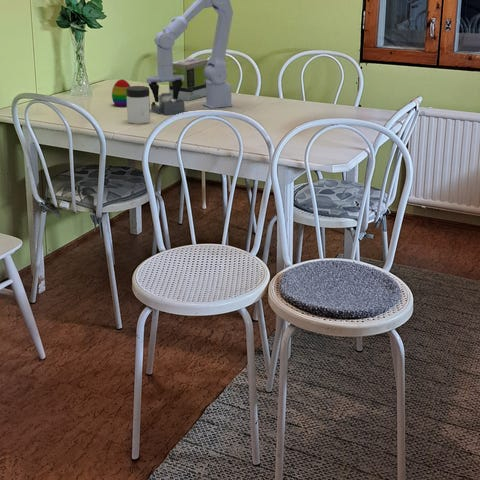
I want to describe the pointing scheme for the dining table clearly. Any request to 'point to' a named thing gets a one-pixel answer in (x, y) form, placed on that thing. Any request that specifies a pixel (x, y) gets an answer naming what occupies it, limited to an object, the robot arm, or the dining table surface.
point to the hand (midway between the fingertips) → (166, 100)
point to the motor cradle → (169, 107)
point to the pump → (164, 98)
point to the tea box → (190, 78)
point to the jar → (138, 104)
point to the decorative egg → (120, 93)
